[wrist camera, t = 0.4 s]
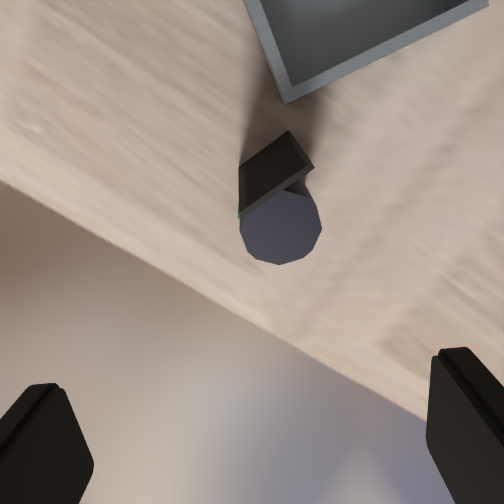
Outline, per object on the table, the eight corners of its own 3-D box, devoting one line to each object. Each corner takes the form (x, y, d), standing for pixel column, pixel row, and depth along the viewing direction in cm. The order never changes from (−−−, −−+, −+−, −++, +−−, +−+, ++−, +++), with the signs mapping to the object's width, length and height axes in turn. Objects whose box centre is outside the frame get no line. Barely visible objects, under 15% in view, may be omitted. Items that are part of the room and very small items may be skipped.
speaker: (224, 148, 30) (217, 181, 21) (290, 129, 29) (312, 154, 20) (248, 226, 33) (251, 285, 24) (308, 211, 33) (334, 265, 23)
